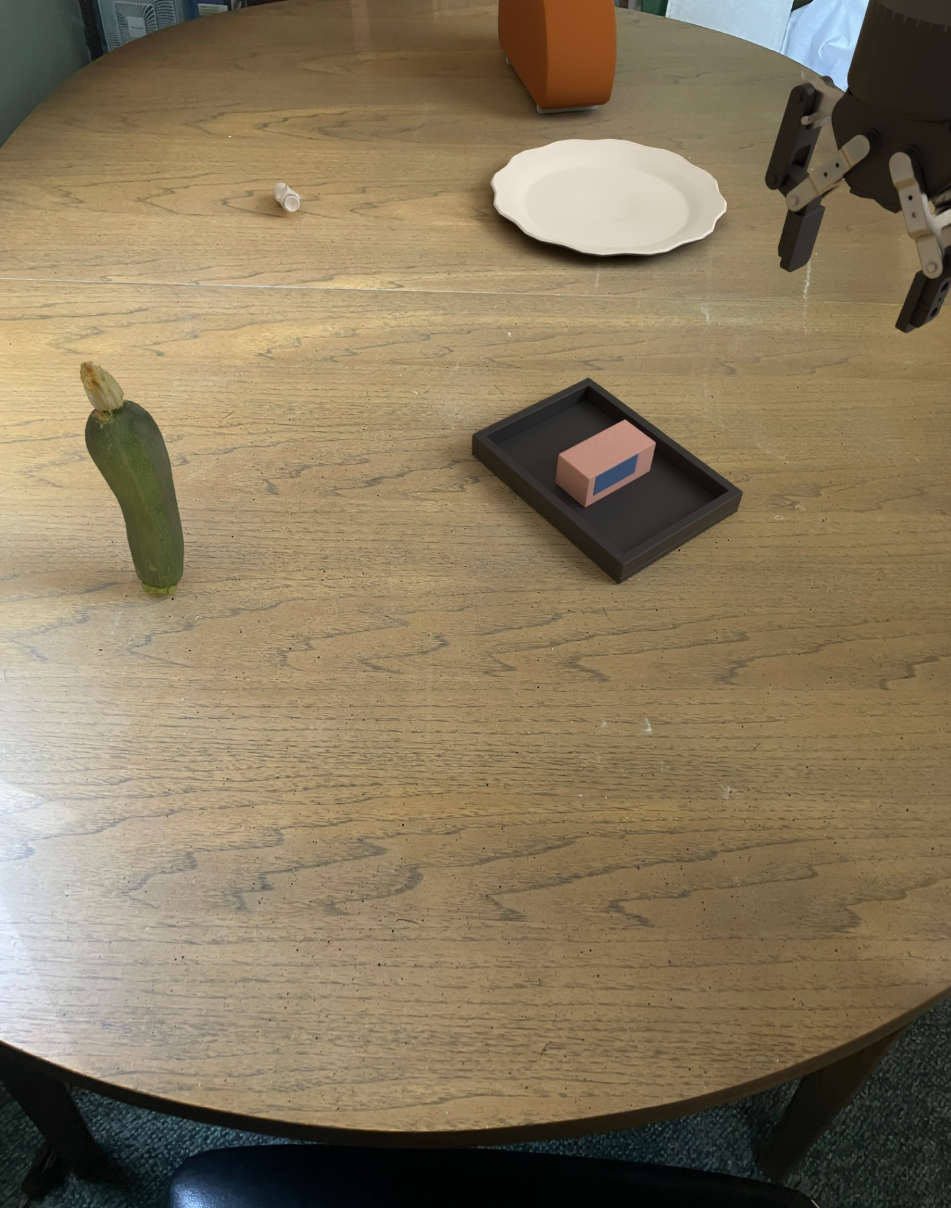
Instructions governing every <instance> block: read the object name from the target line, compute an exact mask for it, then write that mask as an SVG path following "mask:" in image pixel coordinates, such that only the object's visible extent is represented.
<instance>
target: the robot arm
mask: <svg viewBox="0 0 951 1208" xmlns="http://www.w3.org/2000/svg"><path fill="white" fill-rule="evenodd" d="M846 80H847V81H846V83H847V88H846V90H845V91H844V92H842V91H840V90H839V89H836V88H835V81H834V80H833V78H832V77H831V76H829V75H822V76H820V77H816V78H813V79H810V80H808V81H805V82H802V83H801V84H798V85H796V86H794V87H793V88H792V89H791V91H790V93H789V96H788V100H787V103H786V106H785V109H784V114H783V116H782V119H781V123H780V125H779V129H778V132H777V136H776V139H775V143H774V145H773V149H772V153H771V156H770V159H769V162H768V165H767V170H766V173H765V175H764V183H765V185H766V187H767V188H768V189H769V190H771V191H776V190H777V191H779V193H781V195H782V196H783V197H784V199H785V205H786V207H787V213H786V216H785V220H784V223H783V227H782V230H781V235H780V237H779V241H778V245H777V254H778V255H777V256H778V257H779V258H780V262H779V268H780V269H782V270H784V271H786V272H788V273H793V272H795V271H796V270H799V269H801V268H802V267H805V266H806V265H807V264H808V263H809V261H810V260H811V257H812V254H813V250H814V247H815V245H816V240H817V237H818V234H819V231H820V228H821V224H822V221H823V217H824V216H825V215H824V214H825V211H826V209H827V208H826V206H824V205H823V204H821V203H822V201H823V200H825V198H827V197H828V196H829V195H831V194H832V193H833V192H835V191H836V190H837V189H838V188H840V187H841V186H842V185H844V184H845V183H846V185H847V186H848V187H849V188H850V189H849V192H848V193H849V194H852V195H854V196H856V197H858V198H861V199H867V200H873V201H875V202H876V203H877V204H878V205H879V206H880V207H882V208H883V209H885V210H887V211H889V212H891V213H893V214H895V215H896V214H898V213H900V212H902V216H903V221H904V224H905V228H906V233H907V235H908V237H909V238H910V239H911V240H914V242H915V245H916V249H917V250H916V251H917V254H918V258H919V263H920V267H921V269H920V270H918V271H916V272H915V275H914V277H913V280H912V282H911V284H910V287H909V290H908V292H907V294H906V297H905V299H904V302H903V305H902V307H901V309H900V312H899V314H898V317H897V319H896V322H895V325H894V328H895V329H896V330H898V331H900V332H902V333H904V334H909V333H910V332H912V331H914V330H916V329H920V328H921V327H923V326H925V325H926V324H928V323H930V322H932V321H933V320H934V319H935V318H937V317H938V315H939V314H940V312H941V309H942V306H943V305H944V302H945V300H946V297H947V296H948V293H949V291H950V289H951V0H868V2H867V6H866V9H865V12H864V17H863V20H862V24H861V27H860V30H859V34H858V37H857V41H856V44H855V48H854V51H853V54H852V58H851V61H850V64H849V68H848V71H847V75H846ZM829 121H830V123H831V128H832V131H833V132H832V133H833V137H834V140H835V145H836V149H837V151H836V152H835V153H833V154H832V155H831V156H830V157H829V158H828V159H826V160H825V161H824V162H822V163H821V164H820V165H819V166H817V167H816V168H815V169H814V170H812V171H811V172H808V169H809V165H810V163H811V160H812V157H813V154H814V151H815V149H816V145H817V143H818V140H819V136H820V133H821V130H822V127H823V126H824V125H827V124H828V123H829ZM932 200H934V211H933V212H932V210H931V209H930V202H931V201H932Z"/></svg>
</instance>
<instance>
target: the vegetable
mask: <svg viewBox="0 0 951 1208" xmlns="http://www.w3.org/2000/svg"><path fill="white" fill-rule="evenodd" d="M79 375H80V377H79V378H80V380H81V383H82V385H83V389H84V391H85V394H86V397H87V398H88V401H89V402H90V404H91V406H92V407H93V408H94V409H93V410H92V411H91V413H90V414H89V415H88V417H87V421H86V424H85V428H84V441H85V446H86V450H87V452H88V455H89V456H90V458H91V460H92V462H93V464H94V465H95V466H96V468H97V469H98V471H99V473H100V474H101V476H102V478H103V479H104V480H105V482H106V484H107V485H108V487H109V488H110V491H111V492H112V493H113V495H114V496H115V498H116V500H117V502H118V505H119V507H120V510H121V513H122V517H123V520H124V524H125V533H126V539H127V544H128V547H129V551H130V555H131V560H132V563H133V564H132V565H133V566H134V570H135V574H136V576H137V579H138V580H139V581H141V588H142V590H143V592H145V593H151V594H155V593H156V594H161V595H166V594H168V595H175V592H176V590H177V587H178V583H179V582H180V581H181V580H182V578H183V574H184V566H185V565H184V564H185V541H184V533H183V528H182V527H183V526H182V521H181V516H180V510H179V506H178V499H177V493H176V488H175V484H174V477H173V476H174V475H173V469H172V464H171V458H170V456H169V452H168V449H167V445H166V443H165V439H164V436H163V433H162V432H161V429H160V428H159V426H158V424H157V422H156V420H155V419H154V417H153V416H152V415H151V413H149V411H148V410H146V409H145V408H144V407H143V406H141V405H140V404H139V403H137V402H135V401H132V400H130V399H124V396H125V394H124V389H122V387H121V385H120V384H119V383H118V382H117V380H116V379H115V377H114V376H113V375H112V374H110V373H109V372H108V371H107V370H105V369H103V368H102V366H101V365H100V364H97V365H96V364H94V362H93V361H92V360H88V361H84V362H82V363H81V364H80V369H79Z"/></svg>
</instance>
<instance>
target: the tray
mask: <svg viewBox="0 0 951 1208" xmlns="http://www.w3.org/2000/svg"><path fill="white" fill-rule="evenodd" d="M623 420H626V421H628V422H629V423H630V424H632V425H633V426H634V427H636V428H637V429H638V430H640V431H641V432H642V433H644V434H645V435H646V436H648V437H649V438H650V439H652V440H653V441H654V442H655V443H656V444H655V449H654V453H653V458H652V463H651V467H650V471H649V472H647V473H645V474H644V475H642V476H640V477H638V478H636V479H635V480H633V481H631V482H629V483H628V484H626V485H624V486H622V487H621V488H619V489H617V490H615V491H613V492H612V493H610V494H608V495H606V496H605V497H603V498H601V499H599V500H598V501H596V502H594V503H592V504H590V505H589V506H587V507H584V506H582V505H581V504H580V503H579V502H578V501H576V500H575V499H574V498H573V497H572V496H570V495H569V494H568V493H567V492H566V491H565V490H563V489H562V488H561V487H560V486H559V485H557V484H556V474H557V465H558V457H559V454H560V453H562V452H564V451H566V450H568V449H570V448H572V447H574V446H576V445H577V444H579V443H581V442H583V441H585V440H587V439H589V438H591V437H593V436H595V435H596V434H598V433H600V432H602V431H604V430H606V429H608V428H610V427H612V426H614V425H615V424H617V423H619V422H621V421H623ZM471 455H472V456H473V457H475V458H476V459H477V460H478V461H479V462H480V463H481V464H482V465H483V466H485V468H487V469H488V470H489V471H490V472H491V473H493V474H494V475H495V476H496V477H497V478H498V479H500V480H501V481H502V483H504V484H505V485H506V486H507V487H508V488H510V489H511V490H512V491H513V492H514V493H515V494H516V495H518V496H519V497H520V498H521V499H522V500H523V501H524V502H525V503H527V504H528V505H529V506H530V507H531V508H532V509H534V510H535V511H536V512H537V513H538V514H539V515H540V516H541V517H542V518H543V519H545V520H546V521H547V522H548V523H549V524H550V525H552V526H553V527H554V528H555V529H556V530H557V531H558V532H560V533H561V535H563V536H564V537H565V538H566V539H567V540H568V541H570V542H571V543H572V544H573V545H574V546H575V547H576V548H577V549H579V550H580V551H581V552H582V553H583V554H584V555H585V556H586V557H588V558H589V559H590V560H591V561H592V562H593V563H595V564H596V565H597V566H598V567H599V568H600V569H601V570H602V571H604V572H605V573H606V574H607V575H608V576H609V577H610V578H611V579H613V580H614V581H615V582H616V583H617V584H618V585H621V584H622V583H623V582H625V581H627V580H628V579H630V578H632V577H633V576H635V575H636V574H638V573H640V572H641V571H643V570H645V569H646V568H648V567H649V566H651V565H653V564H654V563H656V562H657V561H660V560H661V559H662V558H664V557H665V556H667V555H669V554H670V553H672V552H674V551H675V550H677V549H678V548H680V547H682V546H684V545H685V544H687V543H688V542H690V541H691V540H694V539H695V538H696V537H697V536H699V535H700V536H701V534H703V533H705V532H706V531H708V530H710V529H712V528H713V527H714V526H716V525H718V524H719V523H720V522H723V521H724V520H726V519H727V518H729V517H731V516H732V515H734V514H736V513H737V512H738V509H739V507H740V504H741V502H742V501H741V500H742V497H743V494H744V491H742V489H740V488H739V487H738V486H736V485H735V484H734V483H732V482H731V481H729V480H728V479H727V478H725V477H724V476H723V475H722V474H720V473H719V472H717V471H716V470H714V469H713V468H712V467H711V466H709V465H708V464H707V463H705V462H704V461H703V460H702V459H700V458H698V457H697V456H696V455H694V454H693V453H692V452H690V451H689V450H687V449H686V448H685V447H684V446H682V445H681V444H680V443H679V442H677V441H675V439H673V438H672V437H671V436H669V435H667V434H666V433H665V432H663V431H662V430H661V429H659V428H658V427H657V426H655V425H654V424H652V423H651V422H650V421H648V420H647V419H646V418H645V417H644V416H642V415H641V414H639V413H638V412H636V411H635V410H634V409H633V408H631V407H630V406H628V405H627V404H626V403H625V402H623V401H622V400H620V399H619V398H618V397H616V396H615V395H614V394H612V393H611V392H610V391H608V390H607V389H606V388H605V387H603V386H601V385H600V384H599V383H598V382H596V381H595V380H593V379H592V378H591V377H589V376H588V377H586V378H584V379H582V380H580V381H578V382H576V383H574V384H572V385H570V386H568V387H566V388H564V389H561V390H560V391H558V392H556V393H554V394H551V395H549V396H548V397H545V398H543V399H541V400H539V401H538V402H535V403H533V404H531V405H529V406H527V407H525V408H523V409H521V410H519V411H517V412H515V413H512V414H511V415H509V416H506V417H504V418H502V419H501V420H498V421H496V422H494V423H492V424H489V425H488V426H486V427H484V428H482V429H480V430H478V431H475V432H473V433H472V434H471Z"/></svg>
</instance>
